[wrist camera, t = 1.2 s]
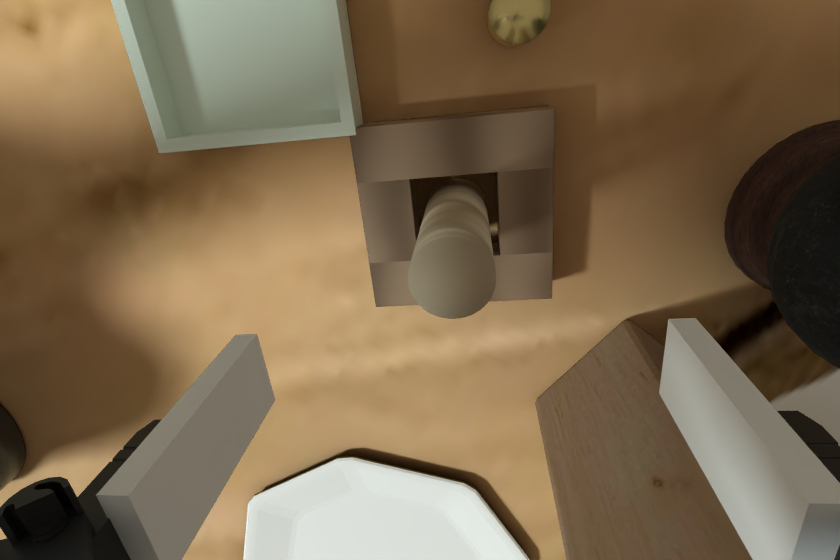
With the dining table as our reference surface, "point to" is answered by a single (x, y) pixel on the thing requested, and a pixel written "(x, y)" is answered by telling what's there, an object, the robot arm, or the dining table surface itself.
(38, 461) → the dining table surface
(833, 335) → the black ball on stand
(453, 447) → the dining table surface
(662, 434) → the wooden block
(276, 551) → the plate
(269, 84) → the tray
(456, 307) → the dowel
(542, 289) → the socket block
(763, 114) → the dining table surface
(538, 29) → the cylinder
